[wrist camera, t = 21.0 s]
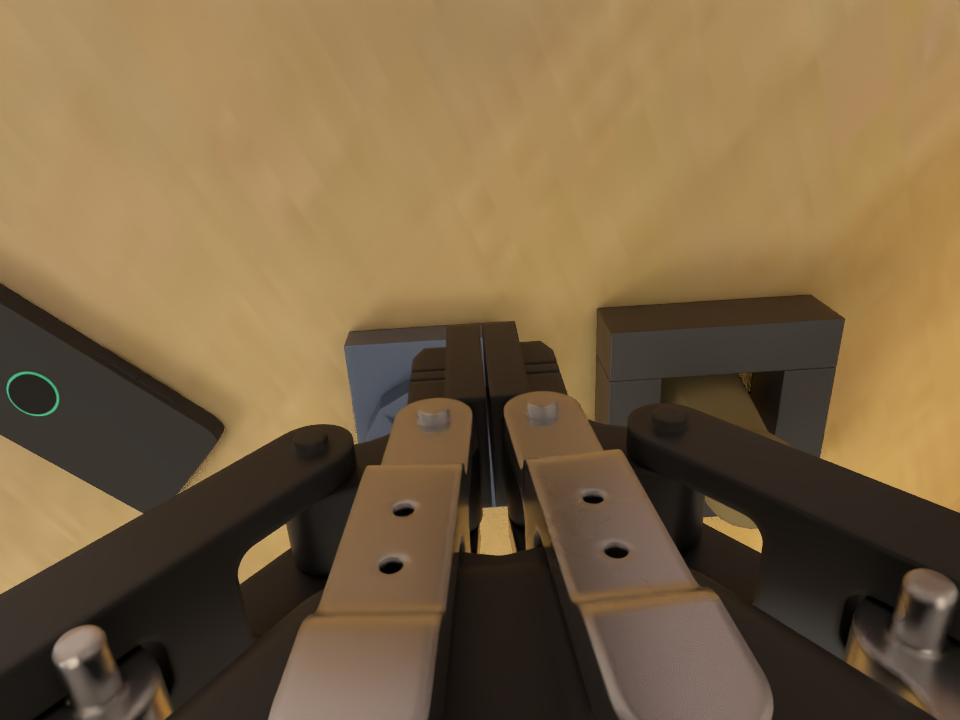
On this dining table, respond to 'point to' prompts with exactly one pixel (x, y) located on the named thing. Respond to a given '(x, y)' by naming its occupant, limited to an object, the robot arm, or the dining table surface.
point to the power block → (388, 376)
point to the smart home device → (95, 410)
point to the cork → (718, 416)
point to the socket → (724, 358)
